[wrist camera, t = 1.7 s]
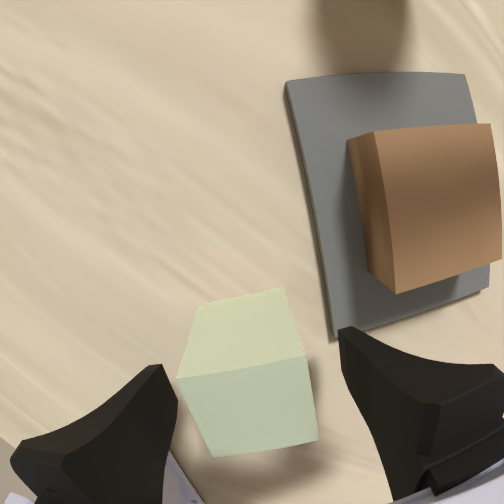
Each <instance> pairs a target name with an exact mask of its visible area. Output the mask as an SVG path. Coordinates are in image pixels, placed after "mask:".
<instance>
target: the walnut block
mask: <svg viewBox="0 0 504 504" xmlns="http://www.w3.org/2000/svg"><path fill="white" fill-rule="evenodd" d="M347 144H348V148H349V153H350V158H351V163H352V168H353V173H354V179H355V184H356V190H357V195H358V201H359V208H360V214H361V220H362V227H363V234H364V242H365V250H366V258H367V267H368V272H369V273H370V274H372V275H373V276H374V277H375V278H377V279H378V280H379V281H380V282H381V283H383V284H384V285H385V286H386V287H388V288H389V289H390V290H391V291H392V292H394V293H395V294H399V293H402V292H405V291H409V290H412V289H415V288H418V287H422V286H425V285H428V284H431V283H434V282H437V281H440V280H443V279H446V278H449V277H452V276H455V275H458V274H461V273H464V272H467V271H470V270H472V269H475V268H478V267H481V266H484V265H486V264H489V263H492V262H494V261H497V260H500V259H502V218H501V200H500V188H499V178H498V169H497V161H496V154H495V148H494V142H493V136H492V131H491V126H490V123H489V124H456V125H437V126H423V127H411V128H400V129H390V130H381V131H373V132H370V133H367V134H364V135H360V136H357V137H354V138H351V139H348V140H347Z"/></svg>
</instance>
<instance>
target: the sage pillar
mask: <svg viewBox="0 0 504 504" xmlns="http://www.w3.org/2000/svg"><path fill="white" fill-rule="evenodd" d="M176 380H177V383H178V385H179V387H180V390H181V392H182V394H183V397H184V399H185V401H186V403H187V406H188V408H189V410H190V412H191V414H192V417H193V419H194V421H195V423H196V425H197V427H198V429H199V431H200V433H201V436H202V438H203V440H204V442H205V444H206V446H207V448H208V450H209V452H210V454H211V455H212V457H213V458H215V457H225V456H233V455H241V454H249V453H256V452H262V451H268V450H274V449H279V448H285V447H290V446H295V445H299V444H304V443H309V442H313V441H317V440H319V434H318V427H317V420H316V414H315V407H314V401H313V394H312V388H311V382H310V376H309V370H308V364H307V358H306V353H305V351H304V348H303V345H302V342H301V339H300V336H299V333H298V330H297V327H296V324H295V321H294V318H293V315H292V312H291V310H290V307H289V304H288V301H287V298H286V295H285V292H284V289H283V287H280V288H275V289H271V290H266V291H262V292H257V293H252V294H248V295H243V296H238V297H234V298H229V299H224V300H219V301H214V302H209V303H204V304H199V307H198V310H197V313H196V316H195V319H194V322H193V325H192V329H191V332H190V335H189V338H188V341H187V344H186V347H185V351H184V354H183V357H182V360H181V363H180V367H179V370H178V373H177V376H176Z"/></svg>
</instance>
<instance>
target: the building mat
mask: <svg viewBox="0 0 504 504" xmlns="http://www.w3.org/2000/svg"><path fill="white" fill-rule="evenodd" d="M285 88H286V92H287V96H288V100H289V104H290V108H291V112H292V116H293V120H294V125H295V129H296V133H297V138H298V142H299V146H300V151H301V155H302V160H303V165H304V169H305V174H306V179H307V184H308V189H309V194H310V199H311V204H312V209H313V215H314V220H315V225H316V231H317V237H318V242H319V248H320V254H321V260H322V266H323V272H324V279H325V285H326V292H327V299H328V306H329V313H330V321H331V328H332V333H333V335H334V337H335V338H337V337H338V332H337V330H338V329H342V328H346V327H349V326H353V327H355V328H357V329H359V330H360V331H363V330H366V329H369V328H373V327H376V326H380V325H383V324H386V323H389V322H393V321H396V320H399V319H402V318H405V317H408V316H411V315H414V314H417V313H420V312H423V311H426V310H429V309H432V308H435V307H437V306H440V305H443V304H446V303H448V302H451V301H454V300H457V299H459V298H462V297H464V296H467V295H470V294H472V293H475V292H477V291H480V290H482V289H484V288H487V287H489V272H490V263H489V264H486V265H484V266H481V267H478V268H475V269H472V270H470V271H467V272H464V273H461V274H458V275H455V276H452V277H449V278H446V279H443V280H440V281H437V282H434V283H431V284H428V285H425V286H422V287H418V288H415V289H412V290H409V291H405V292H402V293H399V294H395V293H394V292H392V291H391V290H390V289H389V288H388V287H386V286H385V285H384V284H383V283H381V282H380V281H379V280H378V279H377V278H375V277H374V276H373V275H372V274H370V273H369V272H368V267H367V258H366V250H365V242H364V234H363V227H362V220H361V214H360V208H359V201H358V195H357V190H356V184H355V179H354V173H353V168H352V163H351V158H350V153H349V148H348V144H347V140H348V139H351V138H354V137H357V136H360V135H364V134H367V133H370V132H373V131H381V130H390V129H400V128H411V127H423V126H437V125H456V124H477V121H476V116H475V112H474V107H473V103H472V99H471V95H470V91H469V88H468V84H467V81H466V77H465V74H453V73H434V72H377V73H357V74H343V75H332V76H322V77H313V78H305V79H297V80H290V81H286V83H285Z"/></svg>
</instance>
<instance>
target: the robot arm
mask: <svg viewBox="0 0 504 504" xmlns="http://www.w3.org/2000/svg"><path fill="white" fill-rule="evenodd" d="M337 332H338V341H339V350H340V360H341V370H342V373H343V376H344V379H345V381H346V384H347V387H348V389H349V391H350V393H351V395H352V397H353V399H354V401H355V403H356V405H357V407H358V408H359V410H360V412H361V414H362V416H363V418H364V420H365V422H366V424H367V425H368V427H369V429H370V432H371V434H372V436H373V439H374V442H375V444H376V447H377V450H378V453H379V455H380V458H381V461H382V464H383V467H384V470H385V474H386V477H387V480H388V483H389V487H390V490H391V494H392V498H393V501H394V502H392V503H389V504H504V418H503V417H502V416H503V413H504V373H503V372H502V371H500V370H499V369H498V368H497V367H496V366H495V365H494V364H454V363H445V362H439V361H434V360H429V359H425V358H421V357H418V356H414V355H411V354H408V353H405V352H403V351H400V350H398V349H395V348H393V347H391V346H389V345H386V344H384V343H382V342H380V341H378V340H376V339H375V338H373V337H371V336H369V335H367V334H366V333H364V332H362V331H360V330H359V329H357V328H355V327H353V326H349V327H346V328H342V329H338V330H337ZM177 407H178V400H177V397H176V395H175V393H174V391H173V389H172V386H171V384H170V382H169V379H168V377H167V375H166V372H165V370H164V368H163V365H162V364H156V365H149V366H147V367H146V368H145V369H143V370H142V371H141V372H140V373H139V374H137V375H136V376H135V377H134V378H133V379H132V380H131V381H130V382H129V383H127V384H126V385H125V386H124V387H123V388H122V389H121V390H120V391H118V392H117V393H116V394H115V395H113V396H112V397H111V398H110V399H108V400H107V401H106V402H105V403H103V404H102V405H101V406H99V407H98V408H97V409H95V410H94V411H92V412H90V413H89V414H87V415H86V416H84V417H82V418H80V419H79V420H77V421H75V422H73V423H71V424H69V425H67V426H65V427H63V428H60V429H58V430H55V431H53V432H50V433H47V434H44V435H41V436H37V437H34V438H30V439H26V440H22V441H21V443H20V444H19V446H18V447H17V449H16V450H15V452H14V453H13V455H12V456H11V458H10V463H11V466H12V468H13V470H14V471H15V473H16V474H17V475H18V477H19V478H20V479H21V480H22V481H23V482H24V483H25V484H26V485H27V486H28V487H29V488H30V490H31V491H33V493H34V494H35V495H36V496H38V497H37V499H36V501H35V502H34V501H33V500H31V499H29V498H27V497H24V496H21V495H19V494H16V493H13V492H11V493H10V494H9V496H8V497H7V499H6V501H5V503H4V504H205V503H204V502H203V501H202V499H201V498H200V496H199V495H198V493H197V492H196V491H195V489H194V488H193V486H192V485H191V483H190V482H189V480H188V479H187V477H186V476H185V474H184V473H183V471H182V470H181V468H180V467H179V465H178V463H177V462H176V460H175V459H174V457H173V455H172V454H171V452H170V450H169V448H170V444H171V440H172V436H173V432H174V428H175V424H176V418H177Z"/></svg>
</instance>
